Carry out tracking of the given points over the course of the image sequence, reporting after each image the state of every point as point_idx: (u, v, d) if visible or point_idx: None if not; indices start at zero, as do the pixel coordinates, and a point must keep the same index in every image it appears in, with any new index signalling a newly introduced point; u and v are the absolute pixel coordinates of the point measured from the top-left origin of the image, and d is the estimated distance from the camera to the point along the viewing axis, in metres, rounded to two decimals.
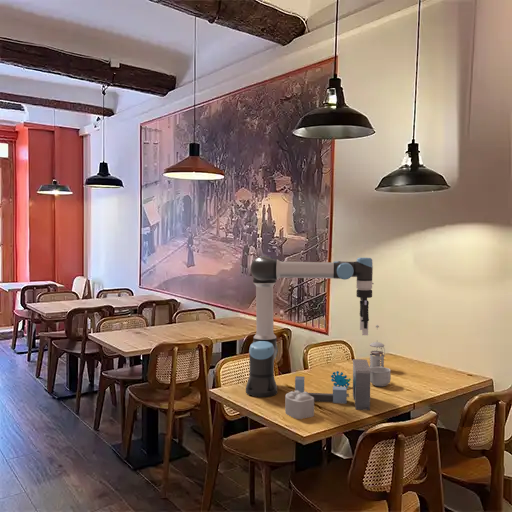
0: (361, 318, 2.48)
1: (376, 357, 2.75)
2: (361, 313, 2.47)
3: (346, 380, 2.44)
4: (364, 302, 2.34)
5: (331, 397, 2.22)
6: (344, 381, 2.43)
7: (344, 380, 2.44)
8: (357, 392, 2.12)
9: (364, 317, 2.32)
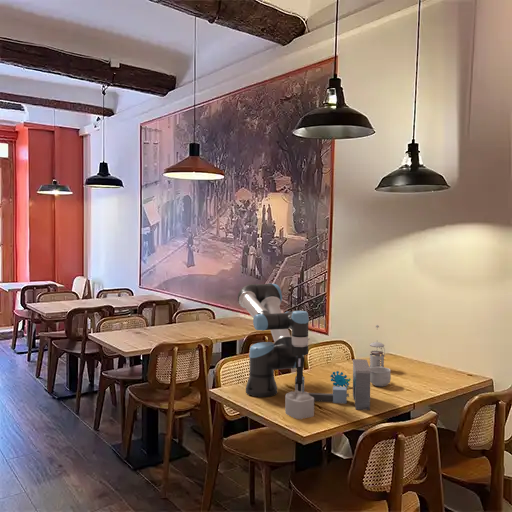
0: None
1: (376, 357, 2.75)
2: None
3: (346, 380, 2.44)
4: (298, 364, 2.18)
5: (331, 397, 2.22)
6: (344, 381, 2.44)
7: (344, 380, 2.44)
8: (357, 392, 2.12)
9: (297, 380, 2.19)
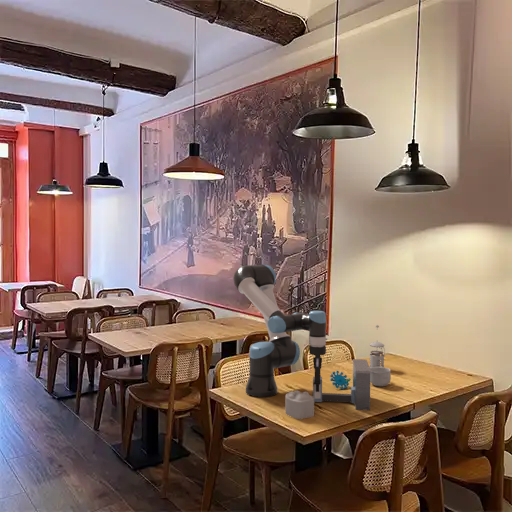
0: None
1: (376, 357, 2.75)
2: None
3: (346, 380, 2.45)
4: (316, 364, 2.17)
5: (350, 397, 2.21)
6: (343, 381, 2.44)
7: (344, 380, 2.44)
8: (357, 392, 2.12)
9: (315, 380, 2.18)
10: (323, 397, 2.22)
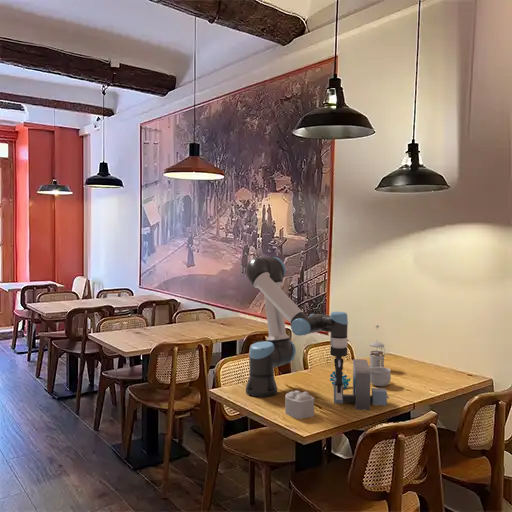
0: None
1: (376, 357, 2.75)
2: None
3: (346, 380, 2.45)
4: (338, 364, 2.16)
5: (371, 399, 2.20)
6: (343, 381, 2.44)
7: (343, 380, 2.44)
8: (357, 392, 2.12)
9: (337, 381, 2.15)
10: (344, 398, 2.22)
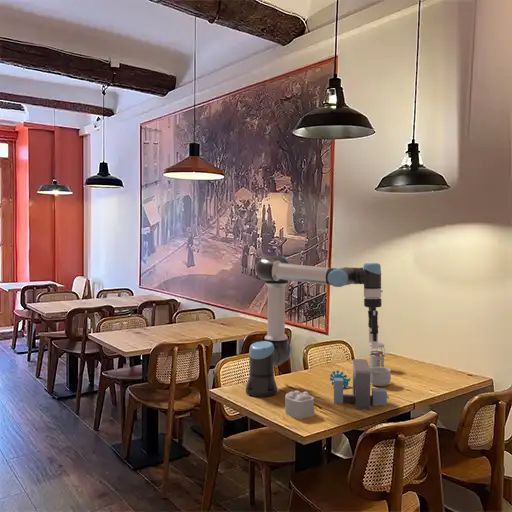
0: (370, 329, 2.26)
1: (376, 357, 2.75)
2: (370, 324, 2.26)
3: (345, 380, 2.45)
4: (373, 312, 2.13)
5: (371, 399, 2.20)
6: (343, 381, 2.44)
7: (343, 380, 2.45)
8: (357, 392, 2.12)
9: (373, 329, 2.10)
10: (344, 398, 2.22)
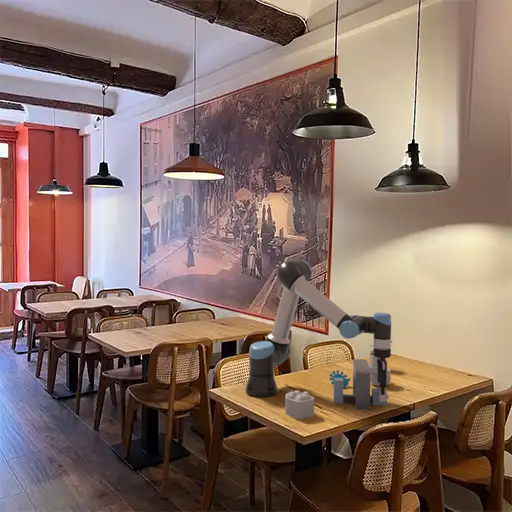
0: (379, 384, 2.23)
1: (376, 357, 2.75)
2: (379, 377, 2.23)
3: (345, 379, 2.45)
4: (382, 367, 2.14)
5: (371, 399, 2.20)
6: (343, 380, 2.44)
7: (343, 379, 2.45)
8: (357, 392, 2.12)
9: (381, 384, 2.14)
10: (344, 398, 2.22)
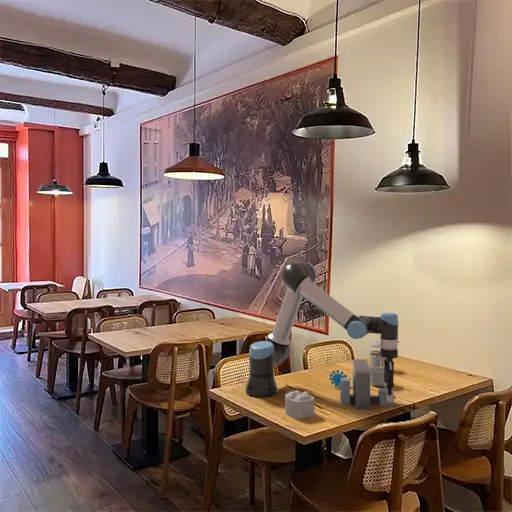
0: (386, 385, 2.23)
1: (376, 357, 2.75)
2: (386, 377, 2.23)
3: None
4: (389, 367, 2.13)
5: (378, 399, 2.20)
6: None
7: None
8: (357, 392, 2.12)
9: (388, 384, 2.14)
10: (351, 399, 2.21)
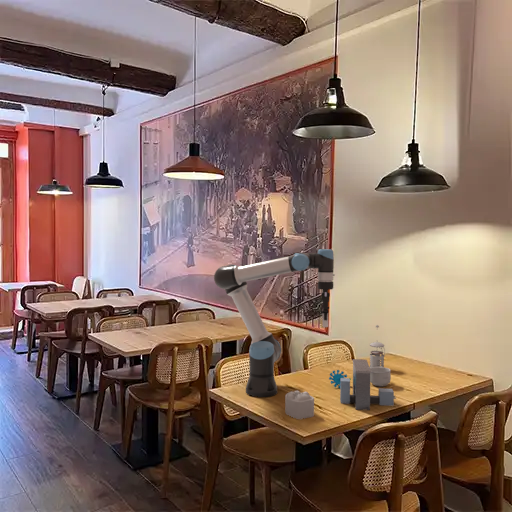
0: None
1: (376, 357, 2.75)
2: None
3: None
4: (324, 294, 2.33)
5: (378, 399, 2.20)
6: None
7: None
8: (357, 392, 2.12)
9: (324, 309, 2.31)
10: (351, 399, 2.21)
